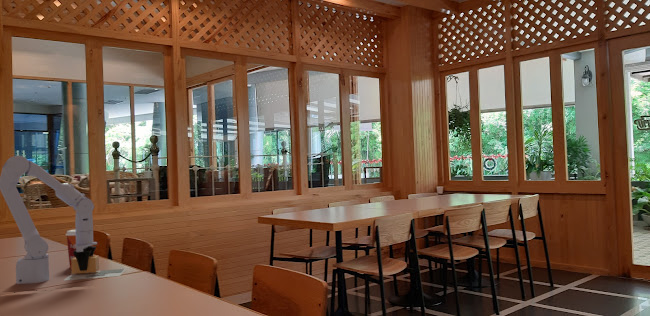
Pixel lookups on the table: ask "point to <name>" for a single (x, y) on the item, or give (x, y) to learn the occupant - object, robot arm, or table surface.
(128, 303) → the table surface
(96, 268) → the block
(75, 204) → the robot arm
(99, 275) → the board
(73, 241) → the coffee cup
